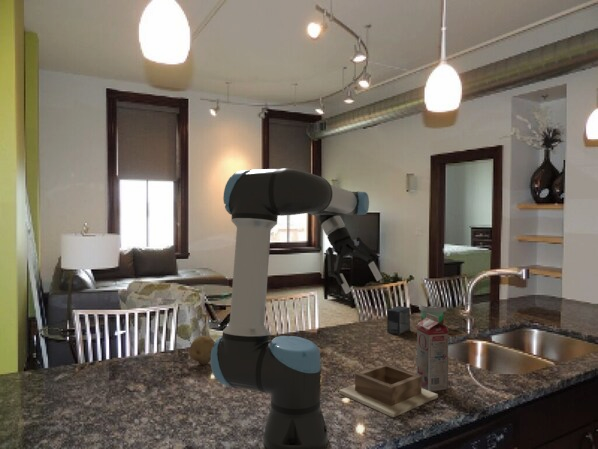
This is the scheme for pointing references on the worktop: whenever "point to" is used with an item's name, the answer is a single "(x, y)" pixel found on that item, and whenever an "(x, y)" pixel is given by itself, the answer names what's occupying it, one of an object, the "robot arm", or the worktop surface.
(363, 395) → the birch collar board
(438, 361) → the juice carton
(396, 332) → the small box
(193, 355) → the natural sponge
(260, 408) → the worktop surface
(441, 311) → the food container
